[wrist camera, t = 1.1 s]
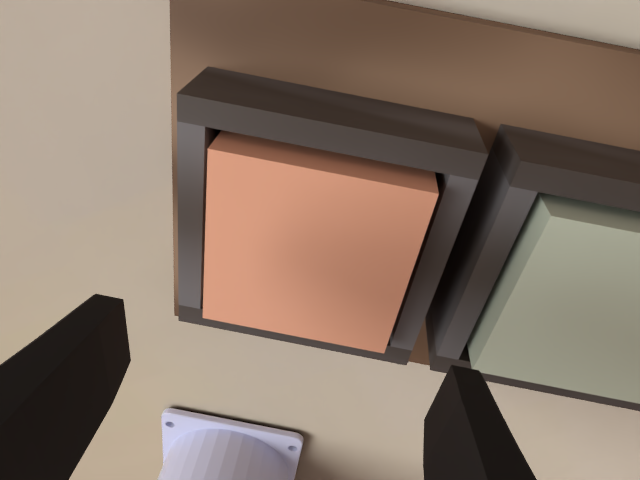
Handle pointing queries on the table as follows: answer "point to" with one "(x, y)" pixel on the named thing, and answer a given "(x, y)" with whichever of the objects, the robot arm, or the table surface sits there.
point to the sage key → (567, 302)
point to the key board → (407, 136)
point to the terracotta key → (310, 239)
